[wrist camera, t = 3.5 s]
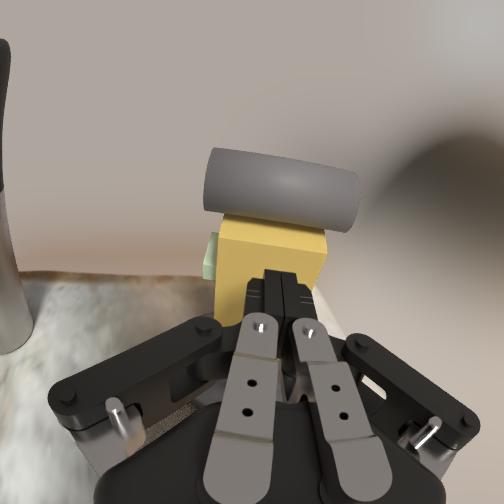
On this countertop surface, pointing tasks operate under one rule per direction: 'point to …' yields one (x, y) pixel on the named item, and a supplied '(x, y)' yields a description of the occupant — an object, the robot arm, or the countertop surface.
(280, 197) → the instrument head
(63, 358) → the countertop surface
